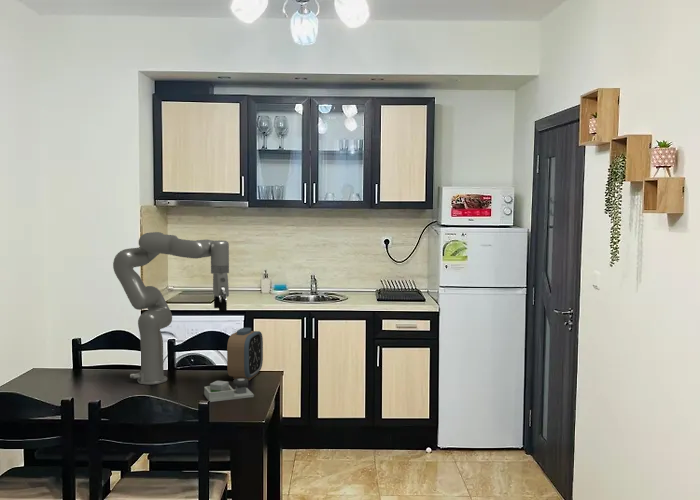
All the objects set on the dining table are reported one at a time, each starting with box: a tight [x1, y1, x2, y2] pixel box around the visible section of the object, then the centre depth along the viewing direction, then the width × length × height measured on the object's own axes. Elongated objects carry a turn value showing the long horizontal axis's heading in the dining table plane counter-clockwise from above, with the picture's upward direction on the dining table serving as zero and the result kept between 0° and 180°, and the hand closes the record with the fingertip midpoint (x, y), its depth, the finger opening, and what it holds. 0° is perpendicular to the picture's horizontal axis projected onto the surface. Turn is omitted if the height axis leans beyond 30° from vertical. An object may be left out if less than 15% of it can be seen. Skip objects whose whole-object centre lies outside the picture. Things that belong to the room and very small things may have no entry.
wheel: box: [232, 378, 249, 388], centre depth 274 cm, size 6×6×5 cm
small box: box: [209, 380, 230, 392], centre depth 270 cm, size 6×6×5 cm
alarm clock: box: [226, 327, 264, 381], centre depth 302 cm, size 21×10×22 cm, turn 168°
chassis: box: [203, 384, 255, 403], centre depth 272 cm, size 18×10×4 cm, turn 113°
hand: (220, 309), depth 284 cm, fingers open, 9 cm apart
